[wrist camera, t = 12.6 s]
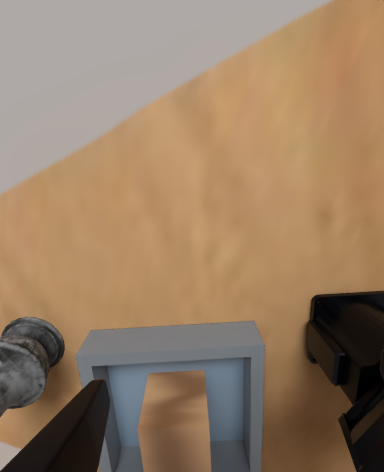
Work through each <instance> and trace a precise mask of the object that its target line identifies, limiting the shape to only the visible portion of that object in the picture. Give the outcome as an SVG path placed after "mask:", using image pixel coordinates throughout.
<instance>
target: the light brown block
mask: <svg viewBox="0 0 384 472" xmlns="http://www.w3.org/2000/svg"><path fill="white" fill-rule="evenodd" d="M138 437H139V443H140V450H141V457H142V463H143V470H144V472H211V453H210V433H209V418H208V407H207V395H206V383H205V371H204V370H192V371H175V372H159V373H148V377H147V383H146V388H145V393H144V398H143V404H142V409H141V414H140V419H139V425H138Z"/></svg>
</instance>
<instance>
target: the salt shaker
mask: <svg viewBox="0 0 384 472" xmlns="http://www.w3.org/2000/svg"><path fill="white" fill-rule="evenodd" d="M63 353H64V341H63V338H62V336H61V334H60V333H59V331H58V330H57V329H56V328H55V327H54V326H53V325H51V324H50V323H48V322H46V321H44V320H42V319H38V318H34V317H24V318H19V319H17V320H14V321H12V322H11V323H10V324H9V325H8V326H6V327H5V329H4V331H3V333H2V336H1V337H0V417H1V416H2V414H3V413H4V412H5V411H6V410H7V409H16V408H21V407H25V406H27V405H30V404H32V403H33V402H35V401H36V400H37V399H38V398H39V397H40V396H41V394H42V393H43V391H44V390H45V386H46V379H47V375H48V370H49V368H50V367H52V366H54V365H55V364H56V363H58V362H59V360H60V359H61V357H62V356H63Z"/></svg>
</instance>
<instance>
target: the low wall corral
mask: <svg viewBox="0 0 384 472" xmlns="http://www.w3.org/2000/svg"><path fill="white" fill-rule="evenodd" d="M264 351H265V344H264V342H263V340H262V338H261V335H260V333H259V331H258V328H257V326H256V324H255V322H254V321H244V322H227V323H210V324H193V325H176V326H159V327H142V328H125V329H108V330H91V331H90V333H89V334H88V336H87V338H86V339H85V341H84V343H83V344H82V346H81V348H80V349H79V351H78V353H77V354H76V360H77V365H78V370H79V374H80V379H81V384H82V389H83V388H84V387H85V386H86V385H87V384H88V383H89V382H90V381H91V380H94V379H105V381H106V383H107V387H108V391H109V395H110V410H109V415H108V420H107V426H106V431H105V436H104V442H103V447H102V452H101V457H100V462H99V470H100V472H144V470H143V463H142V457H141V450H140V443H139V437H138V425H139V419H140V414H141V409H142V404H143V398H144V393H145V388H146V383H147V377H148V373H159V372H175V371H192V370H204V371H205V383H206V395H207V407H208V418H209V433H210V453H211V472H262V433H263V392H264Z"/></svg>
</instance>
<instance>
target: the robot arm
mask: <svg viewBox="0 0 384 472" xmlns="http://www.w3.org/2000/svg"><path fill="white" fill-rule="evenodd" d="M319 300H321V302H319V303H317V302H318V301H319ZM307 347H308V359H309V360H310V362H311V363H313V364H319V365H320V367H321V368H322V370H323V371H324V373H325V374H326V376H327V377H328V379H329V380H330V382H331V383H332V384H333V385H335V386H340V387H341V389H342V390H343V391H344V393H345V394H346V396H347V397H348V399H349V400H350V401H351V403H352V404H353V406H352V407H351V408H350V409H349V410H348V411H347V413H346V414H345V413H343V414H342V415H341V416H340V418H339V419H338V420H339V423H340V426H341V428H342V431H343V434H344V437H345V440H346V443H347V445H348V448H349V451H350V454H351V457H352V460H353V463H354V465H355V468H356V471H357V472H384V291H374V292H357V293H340V294H323V295H316V296H314V297H313V299H312V308H311V319H310V321H309V322H308V335H307ZM109 410H110V395H109V391H108V387H107V383H106V381H105V379H94V380H91V381H90V382H89V383H88V384H87V385H86V386H85V387H84V388H83V389H82V390H81V391H80V392H79V393H78V394H77V395H76V396H75V397H74V398H73V399H72V400H71V401H70V402H69V403H68V404H67V405H66V406H65V407H64V408H63V409H62V410H61V411H60V412H59V413H58V414H57V415H56V416H55V417H54V418H53V419H52V420H51V421H50V422H49V423H48V424H47V425H46V426H45V427H44V428H43V429H42V430H41V431H40V432H39V433H38V434H37V435H36V436H35V437H34V438H33V439H32V440H31V441H30V442H29V443H28V444H27V445H26V446H25V447H24V448H23V449H22V450H21V451H20V452H19V453H18V454H17V455H16V456H15V457H14V458H13V459H12V460H11V461H10V462H9V463H8V464H7V465H6V466H5V467H4V468H3V469H2V470H1V471H0V472H97V470H98V466H99V462H100V457H101V452H102V447H103V442H104V436H105V431H106V426H107V420H108V415H109Z"/></svg>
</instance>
